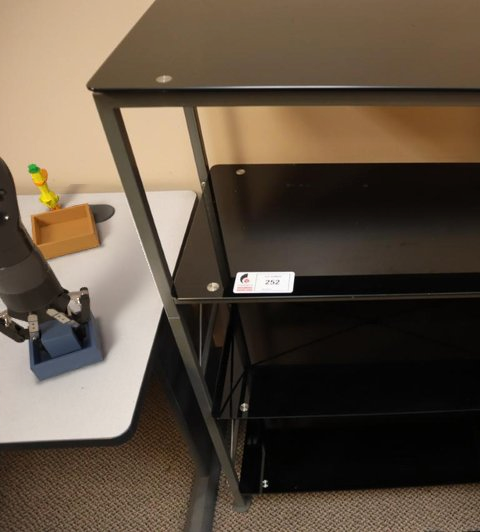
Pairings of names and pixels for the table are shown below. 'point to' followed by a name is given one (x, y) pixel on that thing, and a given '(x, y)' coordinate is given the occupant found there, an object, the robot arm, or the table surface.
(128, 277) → the table surface
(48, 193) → the toy figure
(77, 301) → the robot arm
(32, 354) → the blue bin
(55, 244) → the ochre bin
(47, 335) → the blue block
